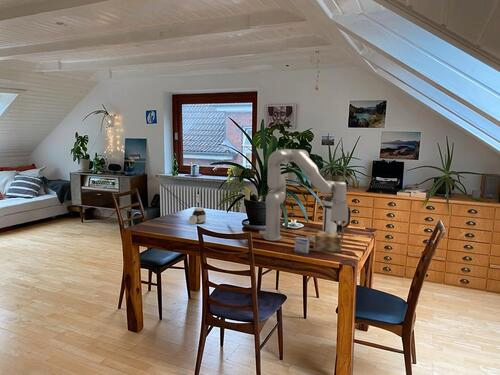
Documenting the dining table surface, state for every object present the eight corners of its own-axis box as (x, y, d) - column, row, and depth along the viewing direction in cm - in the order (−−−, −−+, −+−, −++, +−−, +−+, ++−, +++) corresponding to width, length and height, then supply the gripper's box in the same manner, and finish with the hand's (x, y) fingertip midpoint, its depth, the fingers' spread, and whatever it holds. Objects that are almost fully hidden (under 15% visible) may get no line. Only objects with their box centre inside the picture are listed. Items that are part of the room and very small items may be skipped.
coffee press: (329, 237, 242) (332, 194, 237) (316, 231, 257) (318, 190, 252) (349, 235, 250) (352, 193, 245) (335, 229, 264) (337, 189, 259)
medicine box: (294, 252, 213) (294, 238, 211) (296, 249, 217) (296, 236, 215) (306, 254, 210) (307, 240, 208) (308, 252, 214) (309, 238, 212)
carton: (304, 252, 213) (305, 241, 212) (307, 240, 236) (307, 230, 235) (341, 255, 209) (342, 244, 208) (339, 242, 232) (340, 232, 231)
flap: (341, 243, 213) (343, 230, 212) (341, 237, 225) (342, 224, 224) (342, 243, 213) (343, 230, 212) (341, 237, 225) (342, 225, 224)
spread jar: (206, 221, 276) (206, 207, 274) (203, 225, 265) (203, 210, 263) (191, 221, 277) (191, 206, 275) (187, 225, 266) (187, 209, 264)
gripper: (327, 202, 214) (326, 232, 217) (352, 203, 211) (352, 233, 214) (327, 200, 221) (326, 229, 224) (352, 201, 218) (351, 230, 221)
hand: (339, 231), depth 219 cm, fingers closed
